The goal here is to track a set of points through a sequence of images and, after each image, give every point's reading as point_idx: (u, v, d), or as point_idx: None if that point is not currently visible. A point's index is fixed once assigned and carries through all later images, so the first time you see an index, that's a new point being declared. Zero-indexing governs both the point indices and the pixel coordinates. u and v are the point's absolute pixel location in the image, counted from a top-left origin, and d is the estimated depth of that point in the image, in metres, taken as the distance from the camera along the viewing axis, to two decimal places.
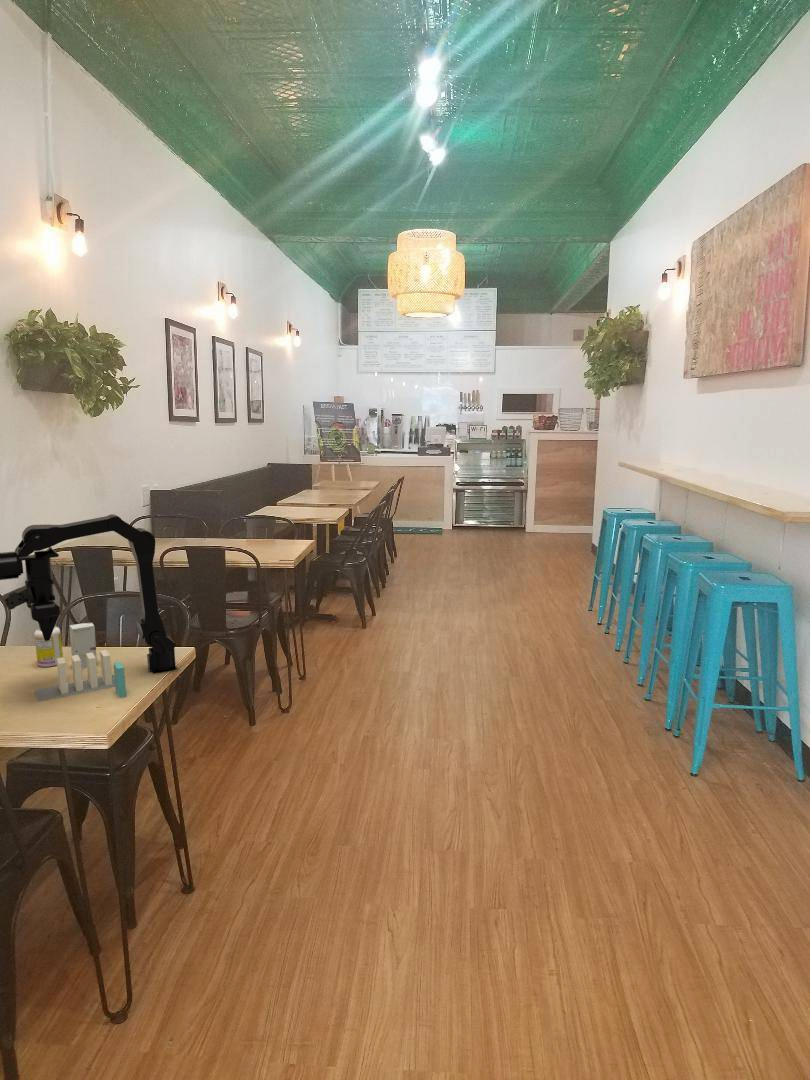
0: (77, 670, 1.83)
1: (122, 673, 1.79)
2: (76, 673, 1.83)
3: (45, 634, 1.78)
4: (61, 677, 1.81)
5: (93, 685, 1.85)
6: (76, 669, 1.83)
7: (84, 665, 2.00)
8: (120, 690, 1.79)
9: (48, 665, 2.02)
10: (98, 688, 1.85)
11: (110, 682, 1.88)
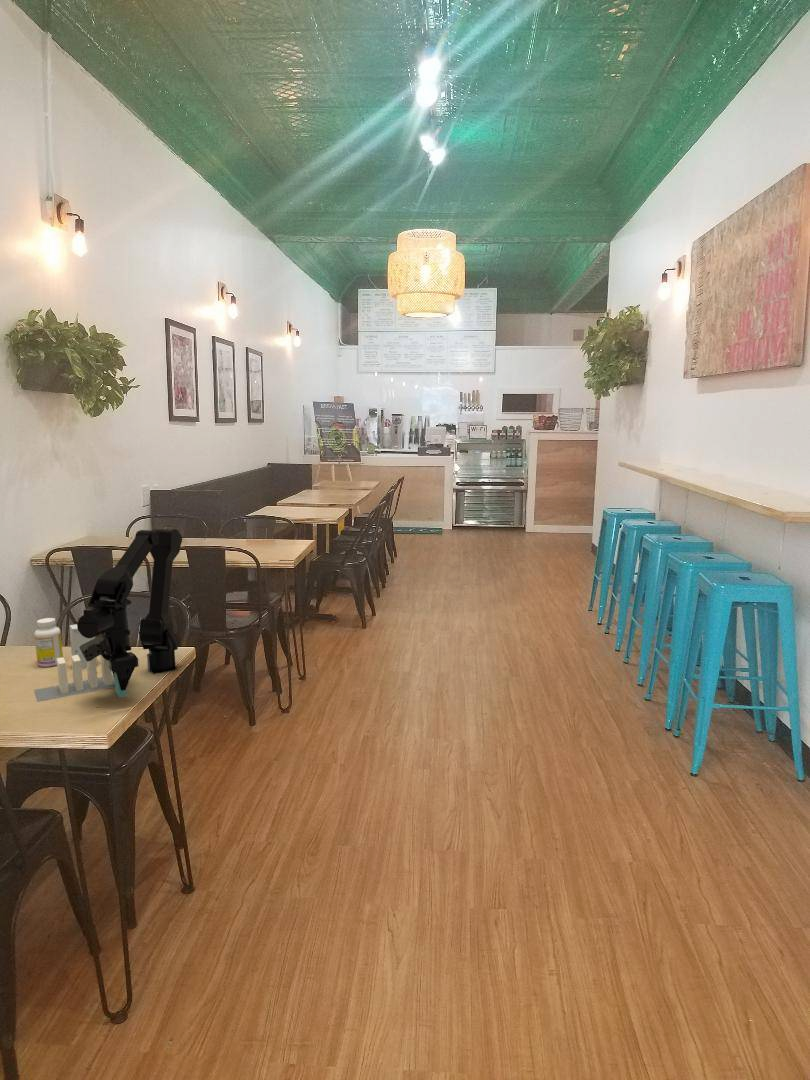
0: (77, 670, 1.83)
1: None
2: (76, 673, 1.83)
3: (122, 684, 1.78)
4: (61, 677, 1.81)
5: (93, 685, 1.85)
6: (76, 669, 1.83)
7: (84, 665, 2.00)
8: (120, 690, 1.79)
9: (48, 665, 2.02)
10: (98, 688, 1.85)
11: (110, 682, 1.88)
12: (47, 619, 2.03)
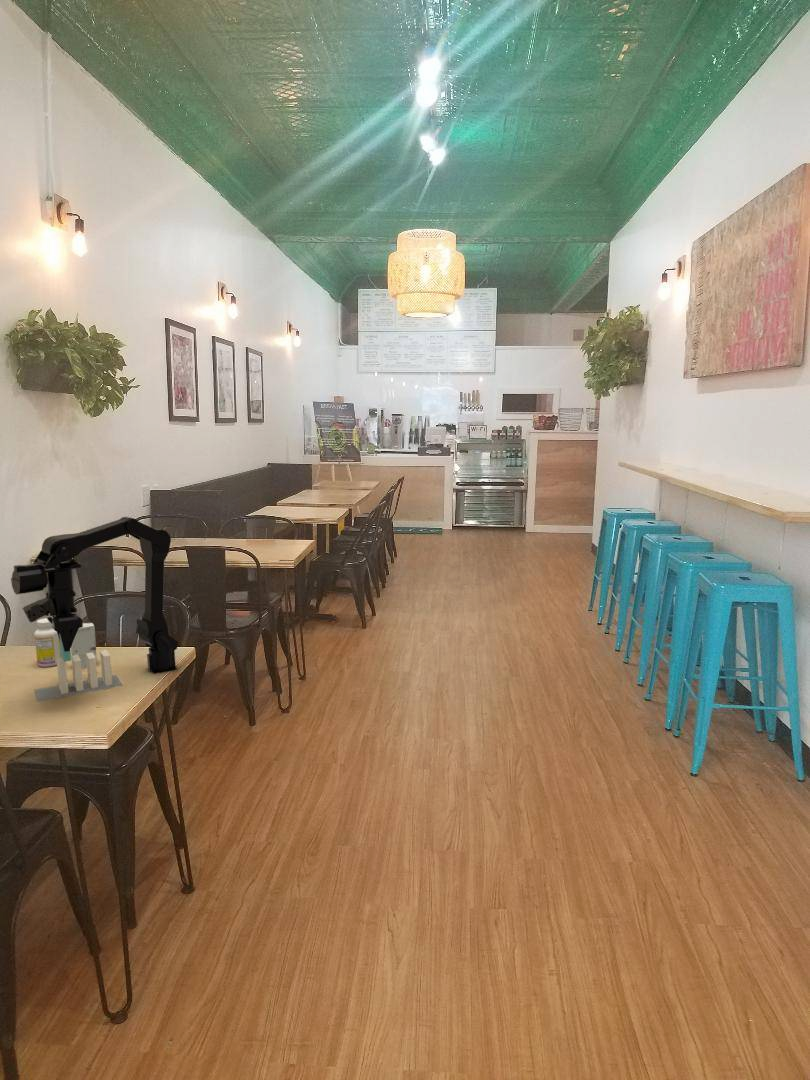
0: (77, 670, 1.83)
1: None
2: (76, 673, 1.83)
3: (65, 645, 1.76)
4: (61, 677, 1.81)
5: (93, 685, 1.85)
6: (76, 669, 1.83)
7: (84, 665, 2.00)
8: (65, 652, 1.77)
9: (48, 665, 2.02)
10: (98, 688, 1.85)
11: (110, 682, 1.88)
12: (47, 619, 2.03)
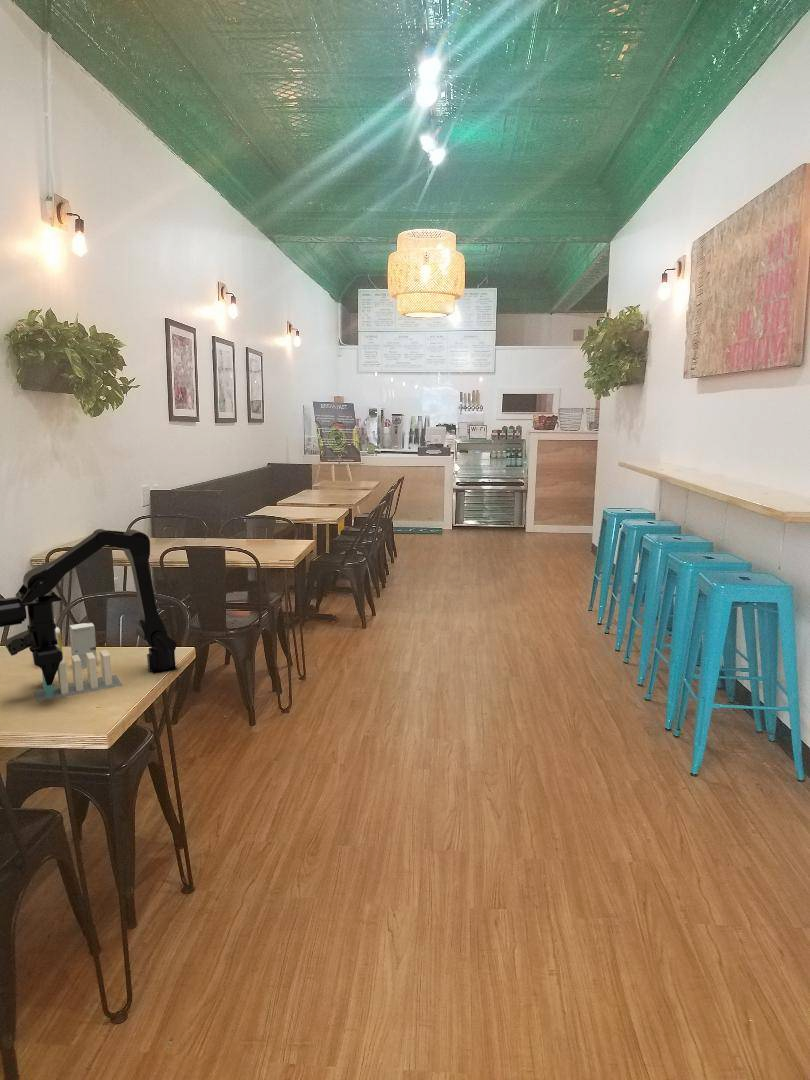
0: (77, 670, 1.83)
1: None
2: (76, 673, 1.83)
3: (47, 679, 1.77)
4: (61, 677, 1.81)
5: (93, 685, 1.85)
6: (76, 669, 1.83)
7: (84, 665, 2.00)
8: (47, 688, 1.80)
9: None
10: (98, 688, 1.85)
11: (110, 682, 1.88)
12: None
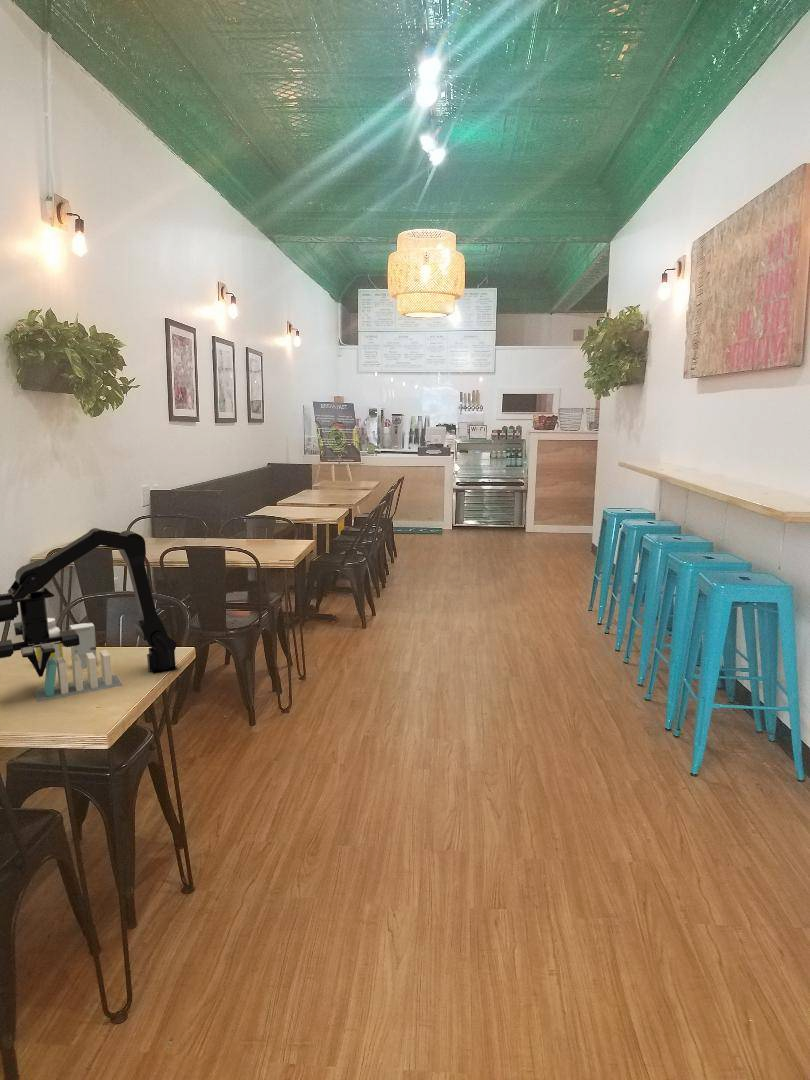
0: (77, 670, 1.83)
1: (54, 670, 1.80)
2: (76, 673, 1.83)
3: None
4: (61, 677, 1.81)
5: (93, 685, 1.85)
6: (76, 669, 1.83)
7: (84, 665, 2.00)
8: (48, 687, 1.80)
9: None
10: (98, 688, 1.85)
11: (110, 682, 1.88)
12: None
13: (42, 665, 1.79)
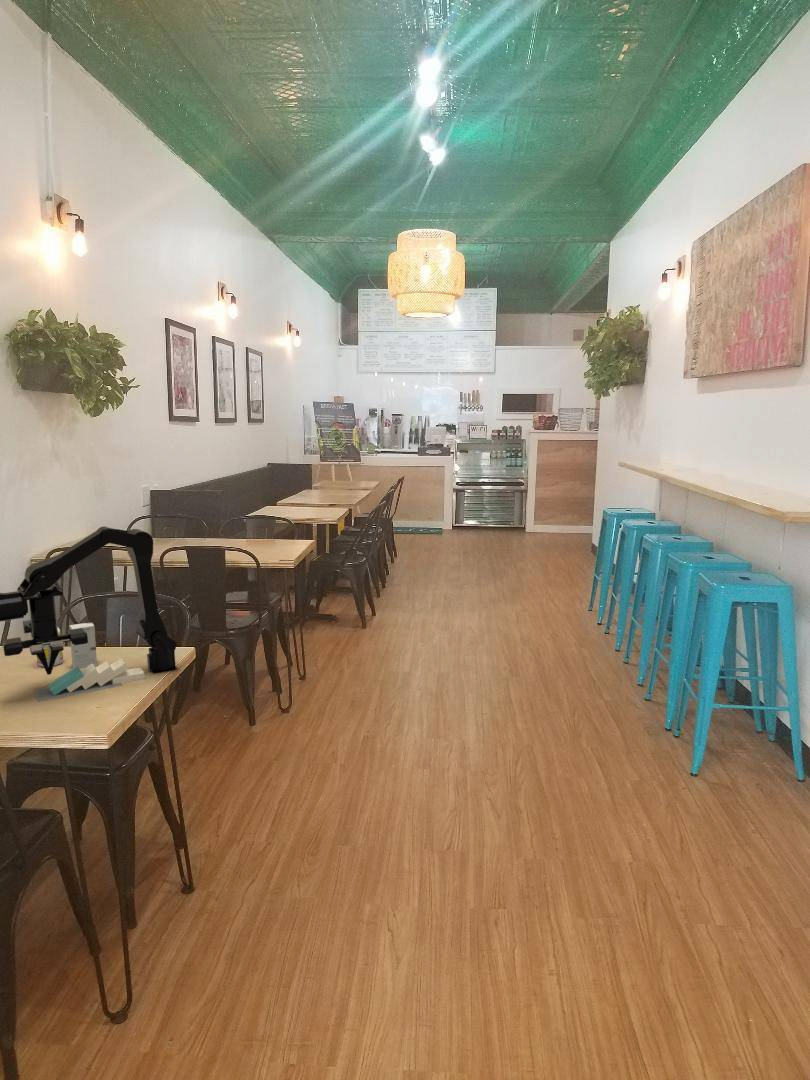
0: (102, 674, 1.86)
1: (77, 678, 1.83)
2: (99, 674, 1.86)
3: None
4: (83, 678, 1.84)
5: (100, 681, 1.86)
6: (103, 672, 1.86)
7: (84, 665, 2.00)
8: (59, 686, 1.81)
9: None
10: (98, 688, 1.85)
11: (115, 682, 1.88)
12: None
13: (51, 663, 1.80)
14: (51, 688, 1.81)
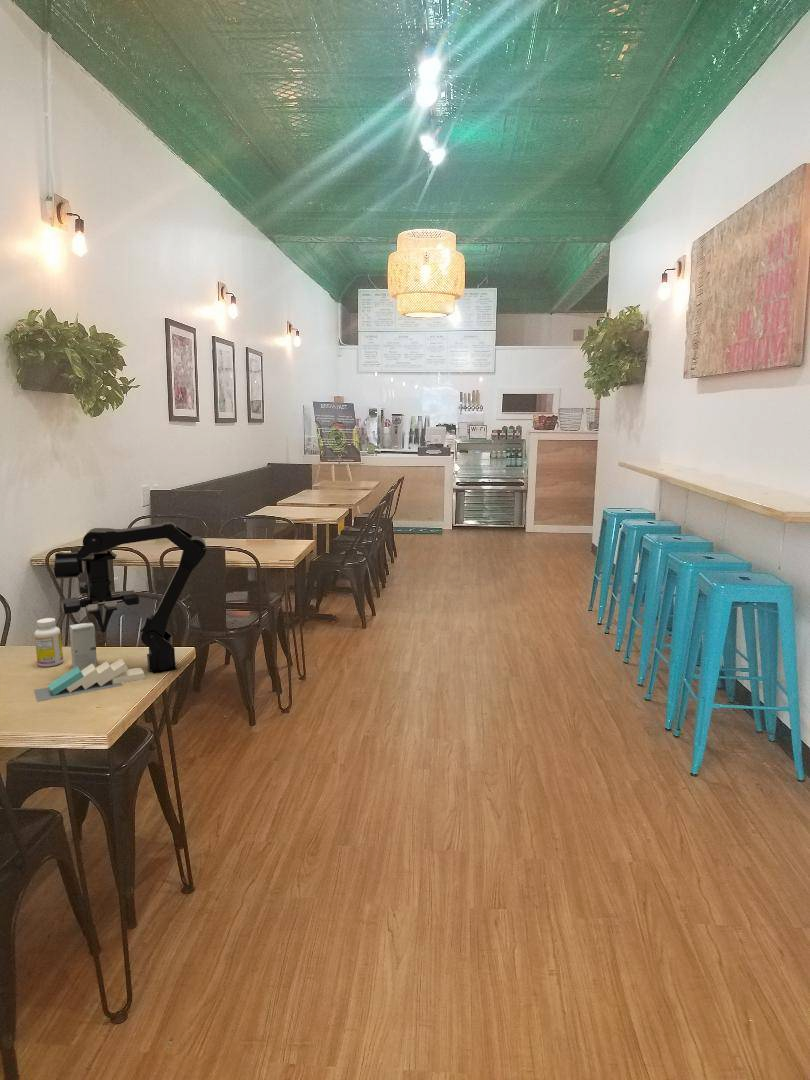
0: (102, 674, 1.86)
1: (77, 678, 1.83)
2: (99, 674, 1.86)
3: None
4: (83, 678, 1.84)
5: (100, 681, 1.86)
6: (103, 672, 1.86)
7: (84, 665, 2.00)
8: (59, 686, 1.81)
9: (48, 665, 2.02)
10: (98, 688, 1.85)
11: (115, 682, 1.88)
12: (47, 619, 2.03)
13: (105, 622, 1.92)
14: (51, 688, 1.81)
